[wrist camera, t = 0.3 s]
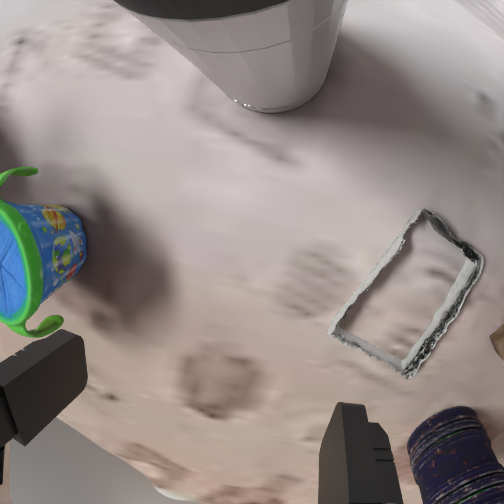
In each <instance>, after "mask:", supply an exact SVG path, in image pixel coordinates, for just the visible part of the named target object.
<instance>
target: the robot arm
mask: <svg viewBox="0 0 504 504" xmlns="http://www.w3.org/2000/svg"><path fill="white" fill-rule="evenodd" d="M114 1H115V2H116V3H118V4H119V5H120V6H122V7H123V8H124V9H126V10H127V11H128V12H129V13H131V14H132V15H133V16H135V17H136V18H137V19H139V20H140V21H141V22H142V23H144V24H145V25H146V26H147V27H149V28H150V29H151V30H152V31H154V32H155V33H157V34H158V35H159V36H160V37H161V38H163V39H164V40H165V41H166V42H168V43H169V44H170V45H171V46H172V47H173V48H175V49H176V50H177V51H178V52H179V53H181V54H182V55H183V56H184V57H185V58H186V59H188V60H189V61H190V62H191V63H192V64H193V65H194V66H195V67H197V68H198V69H199V70H200V71H201V72H202V73H203V74H204V75H206V76H207V77H208V78H209V79H210V80H211V81H212V82H213V83H214V84H215V85H216V86H218V87H219V88H220V89H221V90H222V91H223V92H224V93H225V94H227V95H228V96H229V97H230V98H231V99H232V100H233V101H234V102H236V103H238V104H239V105H241V106H242V107H245V108H248V109H250V110H253V111H257V112H263V113H279V112H284V111H289V110H292V109H294V108H297V107H299V106H301V105H303V104H304V103H306V102H307V101H309V100H310V99H312V98H313V97H314V95H315V94H316V93H317V92H318V91H319V90H320V88H321V87H322V85H323V83H324V81H325V79H326V76H327V72H328V69H329V66H330V63H331V60H332V56H333V53H334V49H335V45H336V42H337V38H338V34H339V31H340V27H341V23H342V20H343V16H344V12H345V9H346V5H347V1H348V0H114ZM87 378H88V374H87V366H86V358H85V348H84V341H83V339H82V337H81V336H78V335H76V334H73V333H71V332H68V331H66V330H63V329H60V330H58V331H56V332H55V333H53V334H52V335H50V336H49V337H47V338H44V339H41V340H38V341H34V342H32V343H31V344H29V345H27V346H26V347H24V348H23V350H19V351H18V352H16V353H15V354H14V356H13V355H12V356H10V357H8V358H7V359H5V360H4V361H2V362H1V363H0V504H12V501H11V498H10V494H9V470H10V469H9V468H10V450H11V449H10V444H9V441H10V440H11V439H12V438H14V439H15V440H16V441H18V442H19V443H21V444H22V445H24V446H26V445H27V444H28V443H29V442H30V441H31V440H32V439H33V438H34V437H35V436H36V435H37V434H38V433H39V432H40V431H41V430H43V428H44V427H46V426H47V424H49V423H50V422H51V421H52V420H53V419H54V418H55V417H56V416H57V415H58V414H59V413H60V412H61V411H62V410H63V409H64V408H66V407H67V406H68V405H69V404H70V403H71V402H72V401H73V400H74V399H75V398H76V397H77V396H78V395H79V394H80V393H81V392H82V391H83V390H84V388H85V386H86V383H87ZM393 460H394V458H393V454H392V451H391V446H390V442H389V438H388V435H387V434H386V432H385V431H384V430H383V428H382V427H381V426H380V425H379V423H372V422H368V418H367V413H366V409H365V406H364V405H362V404H353V403H344V402H338V403H337V405H336V407H335V409H334V412H333V415H332V417H331V420H330V422H329V425H328V427H327V430H326V432H325V435H324V437H323V440H322V444H321V448H320V454H319V491H318V504H403V499H402V495H401V490H400V485H399V480H398V476H397V471H396V467H395V463H394V462H393Z"/></svg>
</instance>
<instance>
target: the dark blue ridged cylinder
mask: <svg viewBox="0 0 504 504" xmlns="http://www.w3.org/2000/svg"><path fill="white" fill-rule="evenodd" d="M407 450H408V454H409V456H410V465H411V469H412V472H413V474H414V479H415V481H416V484H417V485H418V486H419V488H420V492H421V497H422V501H423V504H504V467H503V466H502V465H501V464H500V463H499V462H498V460H497V458H496V456H495V454H494V452H493V450H492V448H491V441H490V439H489V437H488V435H487V432H486V430H485V428H484V426H483V425H482V423H481V422H480V421H479V419H478V418H477V415H476V413H475V412H474V411H473V410H472V409H471V408H469V407H465V406H457V407H451V408H448V409H445V410H442V411H440V412H438V413H436V414H434V415H433V416H431V417H429V418H428V419H426V420H425V421H424V422H423V423H421V424H420V425H419V426H418V427H417V428H416V429H415V430H414V432H413V433H412V434H411V436H410V438H409V440H408V443H407Z"/></svg>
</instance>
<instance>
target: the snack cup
mask: <svg viewBox="0 0 504 504" xmlns="http://www.w3.org/2000/svg"><path fill="white" fill-rule="evenodd" d="M37 173H38V169H37V168H34V167H18V168H14V169H11V170H8V171H5V172H3V173H1V174H0V187H1V186H2V184H3V183H4V182H5V181H6V180H7V179H8V178H9V176H10V175H19V176H30V175H34V174H37ZM86 247H87V241H86V237H85V233H84V231H83V229H82V224H81V220H80V218H79V217H77V216H75V215H74V214H73V213H72V212H71V211H70V210H69V209H67V208H65V207H63V206H60V205H43V204H30V205H25V204H14V203H10V202H6V201H2V200H1V199H0V321H1V322H3V323H5V324H6V325H7V326H8V327H9V328H10V329H11V330H13V331H14V332H16V333H18V334H20V335H23V336H26V337H34V338H38V337H43V336H46V335H48V334H50V333H52V332H54V331H55V330H57V329H58V328H59V327H60V326H61V325H62V324H63V321H64V319H63V317H61V316H59V315H53V316H49V317H47V318H46V319H45V320H44V321H42V323H41V324H40V325H39V326H38V327H37V329H35V330H30V331H27V330H26V328H25V323H26V321H27V320H28V319H29V318H30V317H31V316H32V315H33V314H34V313H35V312H36V310H37V309H38V307H39V306H40V304H41V303H42V302H43V301H45V300H46V299H47V298H48V297H49V296H51V295H52V294H53V293H54V292H55V291H57V290H58V289H59V288H60V287H61V286H62V285H63V284H64V283H66V282H67V281H68V280H69V279H71V277H72V276H74V275H75V274H76V273H77V272H78V271H79V270H80V268H81V267H82V265H83V263H84V262H85V260H86V257H87V252H86Z"/></svg>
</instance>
